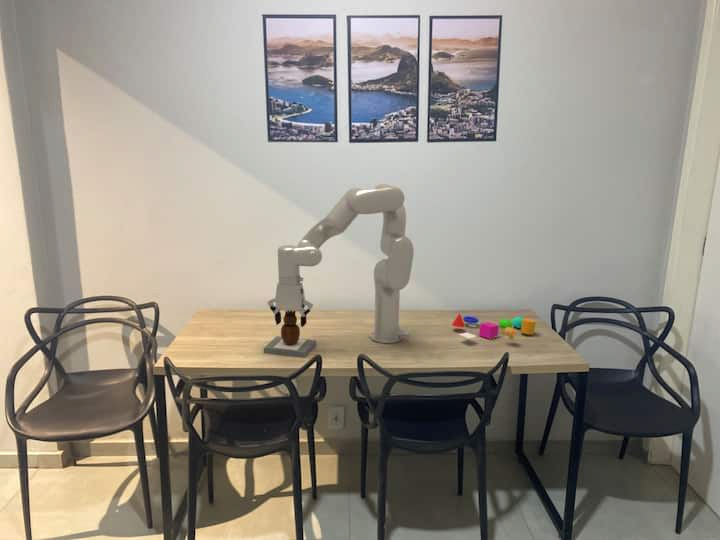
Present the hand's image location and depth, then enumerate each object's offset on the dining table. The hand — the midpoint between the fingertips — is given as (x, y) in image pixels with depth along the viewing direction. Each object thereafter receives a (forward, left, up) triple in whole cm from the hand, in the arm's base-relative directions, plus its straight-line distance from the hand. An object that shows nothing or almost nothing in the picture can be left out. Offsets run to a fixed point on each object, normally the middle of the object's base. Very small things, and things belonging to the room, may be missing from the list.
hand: (290, 324), depth 192 cm
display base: (0, 0, -10) cm, 10 cm away
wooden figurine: (0, 0, -8) cm, 8 cm away
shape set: (-72, -37, -10) cm, 81 cm away
